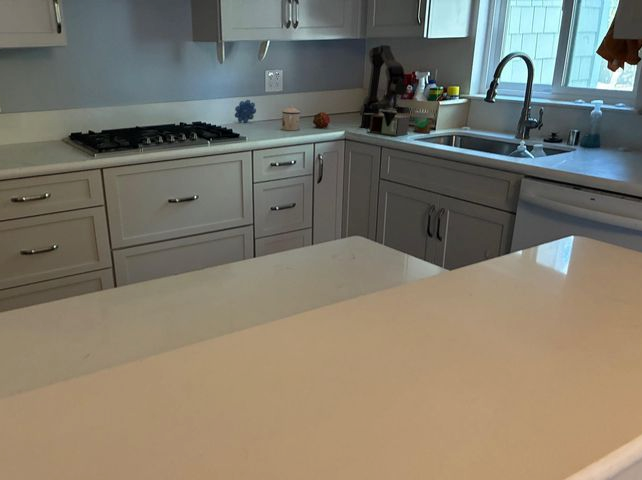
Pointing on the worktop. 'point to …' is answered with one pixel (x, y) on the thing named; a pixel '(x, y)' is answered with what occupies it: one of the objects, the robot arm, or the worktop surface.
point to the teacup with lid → (290, 119)
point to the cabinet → (378, 120)
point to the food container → (423, 122)
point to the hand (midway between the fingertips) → (387, 126)
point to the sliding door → (389, 127)
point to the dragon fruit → (321, 120)
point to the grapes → (245, 111)
